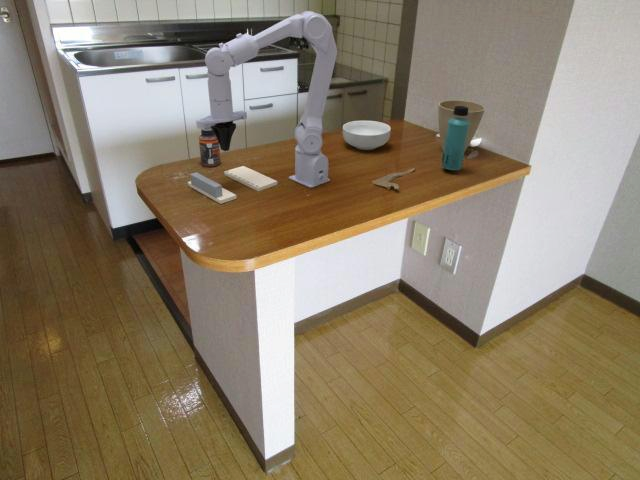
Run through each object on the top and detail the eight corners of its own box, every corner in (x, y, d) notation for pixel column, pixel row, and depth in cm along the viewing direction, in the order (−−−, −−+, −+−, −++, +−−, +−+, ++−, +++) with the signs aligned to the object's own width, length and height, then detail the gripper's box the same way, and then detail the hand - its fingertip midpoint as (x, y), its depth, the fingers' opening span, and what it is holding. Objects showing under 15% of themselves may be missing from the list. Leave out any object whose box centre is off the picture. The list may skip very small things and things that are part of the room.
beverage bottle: (464, 171, 143) (477, 106, 133) (454, 176, 139) (466, 110, 129) (446, 165, 147) (457, 102, 137) (435, 171, 142) (446, 106, 132)
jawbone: (367, 191, 131) (367, 184, 130) (388, 168, 147) (388, 162, 146) (398, 194, 127) (398, 187, 126) (415, 171, 143) (416, 165, 142)
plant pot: (423, 151, 158) (430, 105, 150) (444, 142, 168) (452, 98, 160) (463, 162, 150) (472, 114, 142) (482, 152, 159) (492, 105, 151)
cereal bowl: (344, 137, 169) (345, 118, 166) (389, 140, 168) (391, 121, 164) (339, 152, 155) (340, 132, 151) (388, 156, 153) (390, 135, 150)
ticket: (277, 184, 130) (277, 180, 130) (258, 191, 126) (258, 187, 125) (243, 168, 140) (243, 165, 139) (224, 174, 136) (224, 171, 135)
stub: (236, 198, 121) (235, 184, 119) (220, 203, 118) (219, 189, 116) (203, 180, 131) (201, 167, 129) (187, 185, 128) (186, 172, 126)
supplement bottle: (216, 168, 140) (212, 132, 134) (198, 166, 141) (194, 130, 135) (223, 161, 145) (220, 126, 139) (206, 159, 146) (202, 124, 140)
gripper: (234, 92, 124) (237, 140, 131) (187, 100, 115) (193, 152, 122) (250, 96, 120) (253, 146, 127) (203, 105, 111) (208, 159, 118)
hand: (225, 149), depth 124 cm, fingers closed
